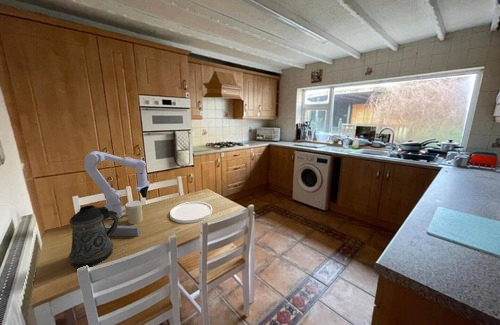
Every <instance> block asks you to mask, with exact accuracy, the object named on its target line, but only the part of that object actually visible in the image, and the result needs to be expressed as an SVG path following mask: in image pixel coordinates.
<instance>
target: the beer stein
mask: <svg viewBox="0 0 500 325" xmlns="http://www.w3.org/2000/svg"><path fill="white" fill-rule="evenodd" d="M109 217H110V218H113V219H112V220H113V222H112V225H110V226H111V228H110V229H109V230H108V232H106V228H105V226H106V224H105V223H104V220H107V219H106V218H109ZM119 224H120V218H119V216H118V215H117V213H116V212H114V211H109V210H108V208H106V207H104V206H100V207H98V206H95V205H93V204H92V205H85V206H84V205H83V206H82V207H80V208H79V210H78V211H77V212H76V213H75V214H74V215H72V216H71V218H70V219H69V225H70V226H71V227H72V228H71V230H72V231H71V248H70V253H69V256H68V257H69V258H68V259H69V261H70V263H71V265H72V267H73V268H76V267H77V268H78V269H80V268H79V267H83V266H86V265H88V266H89V267H88V268H92V267H93V266H92V265H94V266H97V265H99V264H101V263H102V261H103V262H104V261H106V260H108V259H109V257H111V255H113V251H114V243H113V242H112V240H111V239H110V237H112V236H111V235H112V234H113V233H114V231H115V230H116V228H117V226H119ZM100 262H101V263H100ZM77 268H76V269H77Z"/></svg>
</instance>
